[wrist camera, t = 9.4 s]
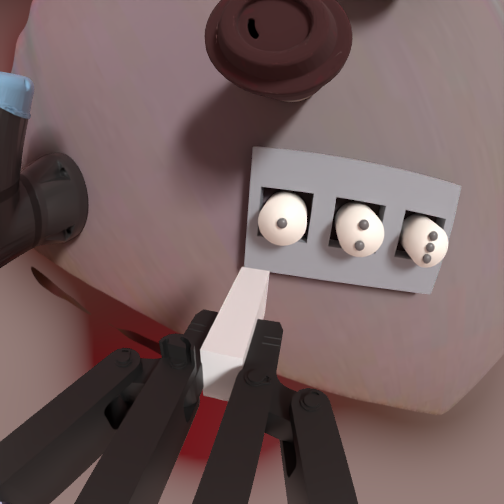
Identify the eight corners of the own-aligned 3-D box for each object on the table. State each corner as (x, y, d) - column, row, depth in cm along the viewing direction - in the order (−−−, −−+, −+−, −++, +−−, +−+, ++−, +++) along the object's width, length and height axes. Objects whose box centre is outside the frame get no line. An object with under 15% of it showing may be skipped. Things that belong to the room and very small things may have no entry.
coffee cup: (347, 54, 23) (374, -6, 10) (316, 127, 28) (323, 115, 14) (264, 25, 24) (229, -43, 10) (233, 96, 28) (173, 68, 14)
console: (248, 259, 35) (244, 268, 33) (257, 146, 30) (252, 146, 28) (424, 285, 32) (430, 294, 30) (452, 182, 26) (461, 186, 24)
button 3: (394, 248, 30) (405, 265, 26) (403, 210, 28) (417, 222, 24) (427, 254, 29) (441, 271, 25) (437, 217, 28) (454, 230, 23)
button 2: (331, 238, 31) (334, 254, 27) (338, 198, 29) (342, 208, 25) (370, 244, 31) (378, 261, 26) (378, 205, 29) (389, 216, 24)
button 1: (262, 228, 33) (255, 243, 28) (266, 188, 31) (259, 196, 26) (304, 234, 32) (303, 249, 28) (309, 193, 30) (309, 203, 26)
